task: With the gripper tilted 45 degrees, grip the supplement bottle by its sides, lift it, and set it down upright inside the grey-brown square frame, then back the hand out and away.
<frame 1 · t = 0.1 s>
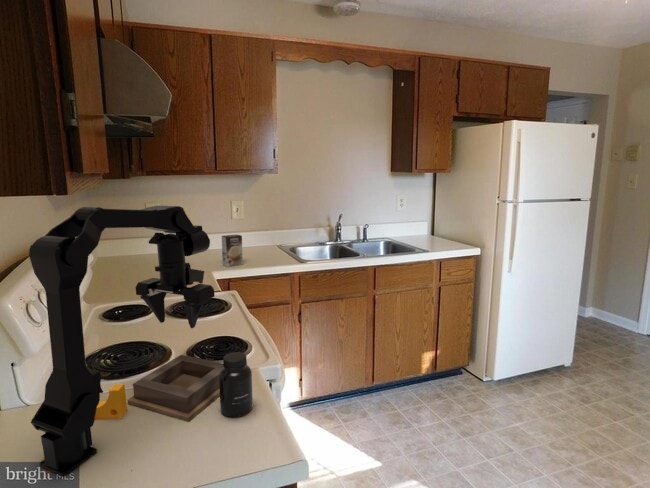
hand: (177, 324, 94), 15 cm above the worktop, tool pointing down, fingers open, 9 cm apart
coffee box: (232, 265, 215), on the worktop
orange notched part: (93, 419, 83), on the worktop
grey-brown square frame: (185, 391, 92), on the worktop
supplement bottle: (237, 409, 86), on the worktop
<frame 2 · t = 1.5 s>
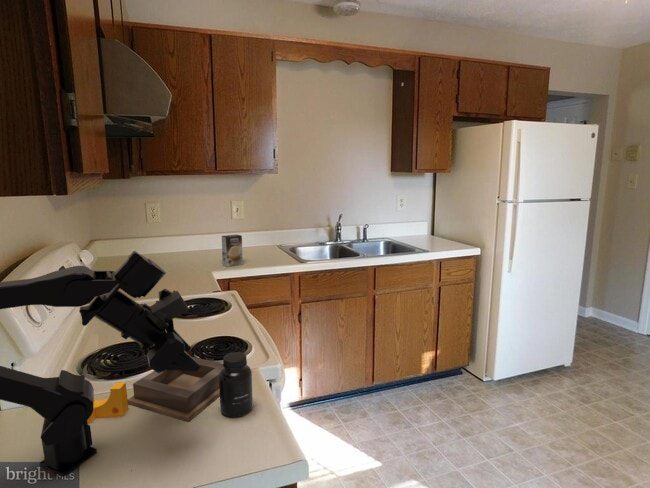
hand: (194, 358, 79), 14 cm above the worktop, tool tilted 45°, fingers open, 9 cm apart
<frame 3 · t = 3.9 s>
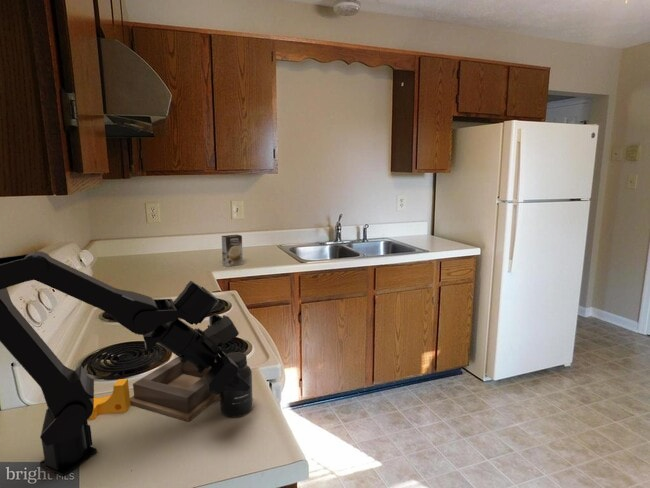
hand: (241, 378, 85), 7 cm above the worktop, tool tilted 45°, fingers open, 9 cm apart
orange notched part: (97, 414, 84), on the worktop
everything else where it was.
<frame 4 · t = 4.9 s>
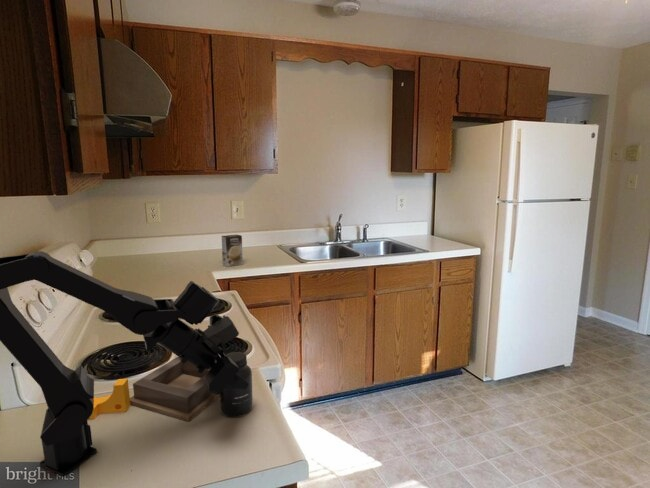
hand: (242, 378, 85), 7 cm above the worktop, tool tilted 45°, fingers closed on supplement bottle, 7 cm apart
supplement bottle: (237, 409, 86), on the worktop, touching gripper
everything else where it was.
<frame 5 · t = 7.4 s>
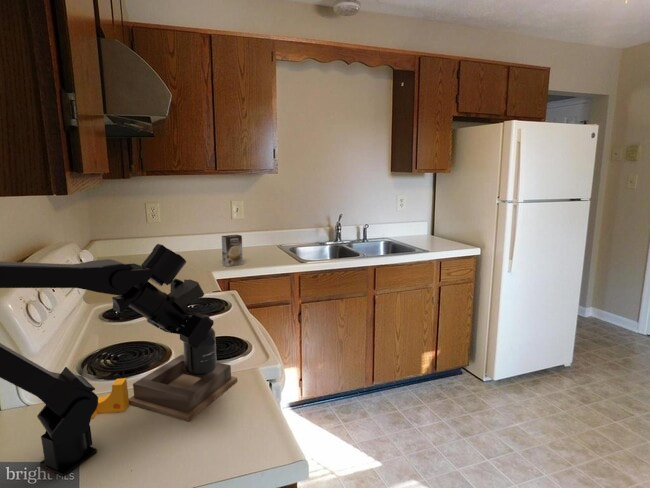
hand: (204, 339, 89), 13 cm above the worktop, tool tilted 45°, fingers closed on supplement bottle, 7 cm apart
supplement bottle: (201, 370, 89), point 6 cm above the worktop, touching gripper
when the fingers open (8 cm above the worktop, at t = 10.1 s): supplement bottle stays where it is, resting on grey-brown square frame.
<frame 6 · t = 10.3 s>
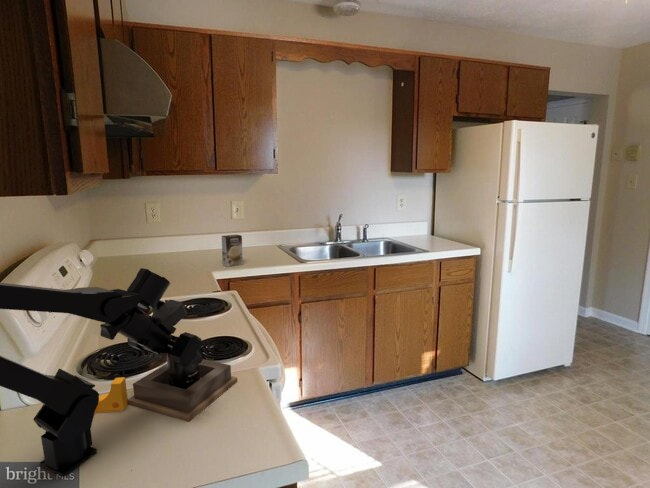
hand: (187, 356, 92), 8 cm above the worktop, tool tilted 45°, fingers open, 9 cm apart
supplement bottle: (185, 389, 92), point 1 cm above the worktop, touching grey-brown square frame
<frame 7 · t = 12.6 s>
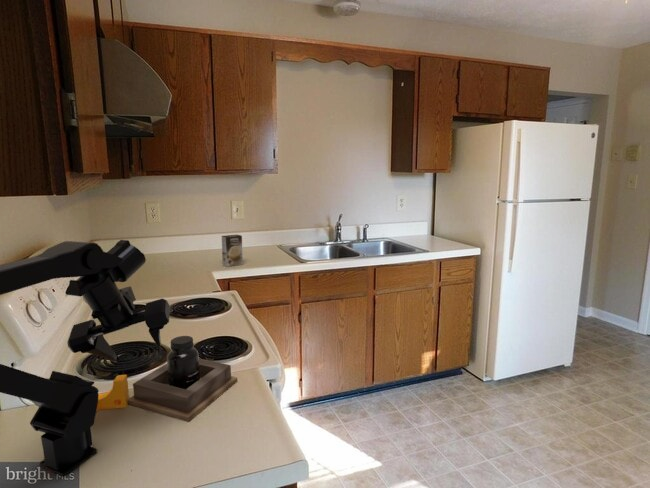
hand: (138, 352, 85), 12 cm above the worktop, tool tilted 25°, fingers open, 9 cm apart
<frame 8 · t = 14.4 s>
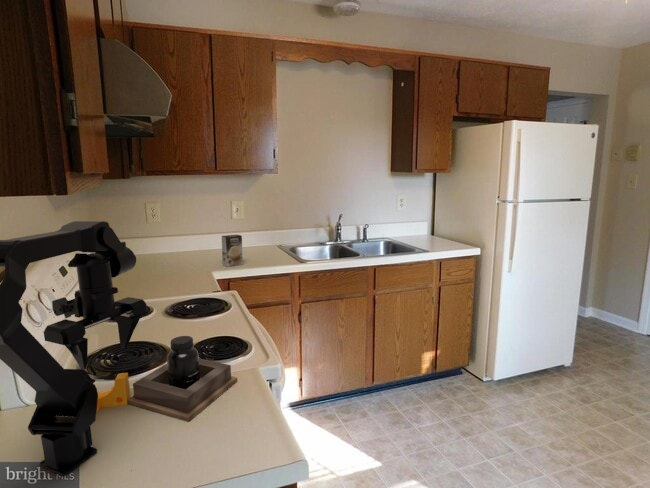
hand: (104, 358, 81), 13 cm above the worktop, tool pointing down, fingers open, 9 cm apart
at the end: supplement bottle 0.4 cm off-centre on the grey-brown square frame, point 0.8 cm above the grey-brown square frame's base; supplement bottle tilted 0°; the gripper is holding nothing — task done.
